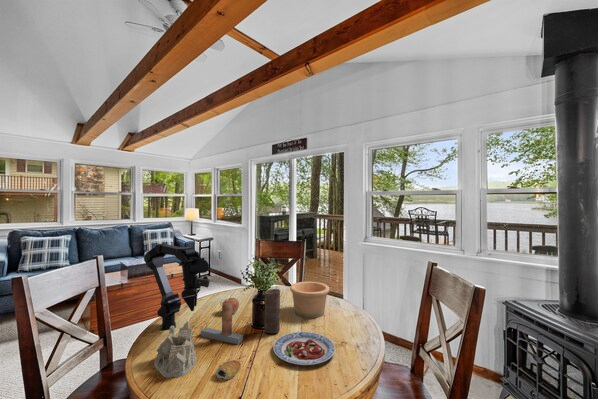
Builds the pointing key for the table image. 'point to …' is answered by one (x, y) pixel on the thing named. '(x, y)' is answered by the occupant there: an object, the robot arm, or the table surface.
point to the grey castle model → (176, 353)
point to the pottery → (309, 299)
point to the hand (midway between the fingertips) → (194, 308)
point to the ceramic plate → (304, 348)
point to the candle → (272, 311)
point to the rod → (226, 319)
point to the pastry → (228, 369)
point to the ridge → (218, 336)
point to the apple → (233, 304)
